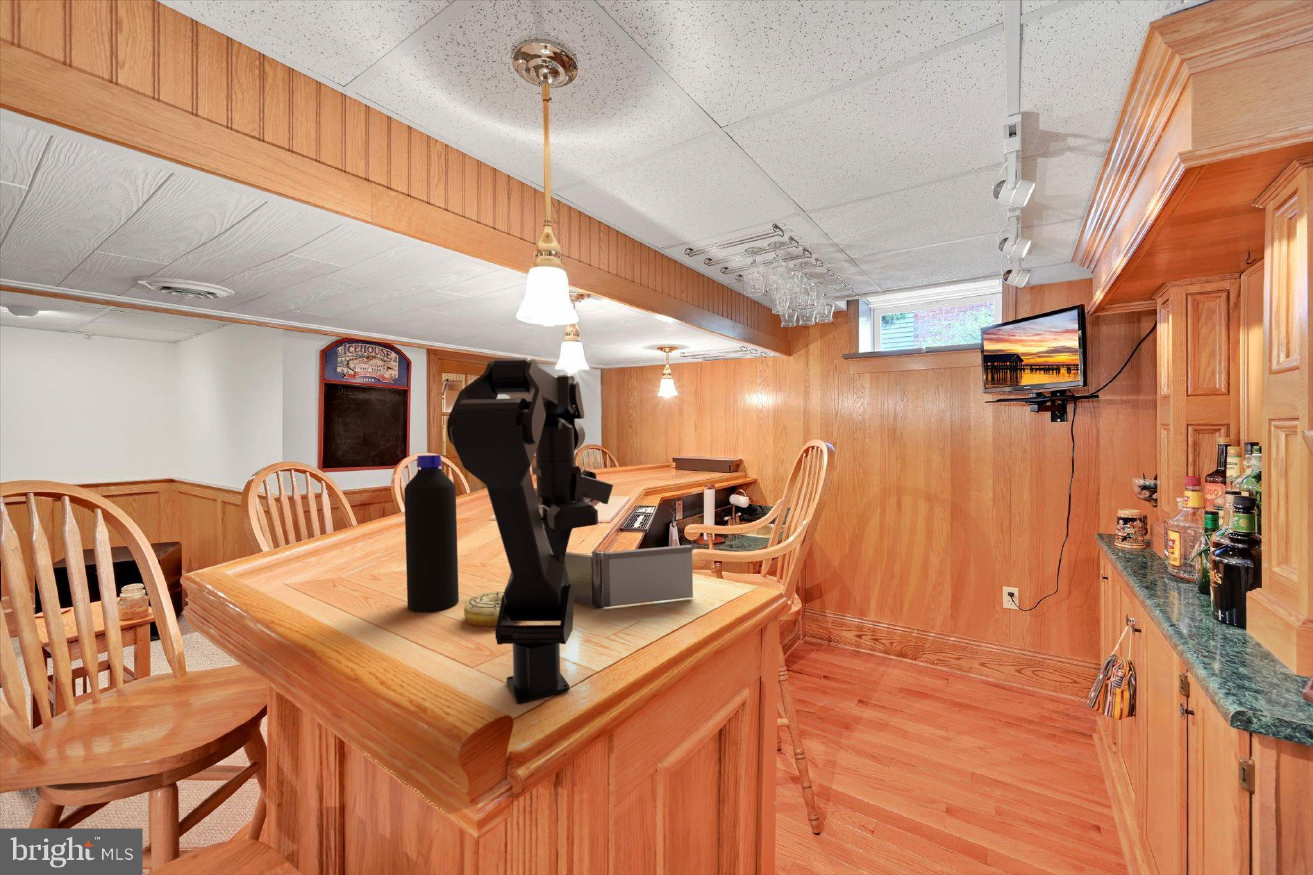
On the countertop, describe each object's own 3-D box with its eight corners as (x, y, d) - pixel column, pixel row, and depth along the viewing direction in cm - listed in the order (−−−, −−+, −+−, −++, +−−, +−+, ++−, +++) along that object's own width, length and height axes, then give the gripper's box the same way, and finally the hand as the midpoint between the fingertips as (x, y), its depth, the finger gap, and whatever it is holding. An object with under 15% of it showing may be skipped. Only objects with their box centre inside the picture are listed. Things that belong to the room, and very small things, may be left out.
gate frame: (542, 597, 100) (541, 545, 100) (550, 594, 102) (549, 543, 102) (599, 609, 93) (598, 553, 93) (606, 605, 95) (605, 551, 94)
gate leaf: (604, 607, 92) (603, 554, 92) (602, 604, 94) (601, 552, 94) (693, 597, 97) (692, 546, 97) (690, 595, 98) (689, 544, 98)
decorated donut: (527, 627, 86) (526, 604, 86) (458, 632, 84) (458, 609, 84) (531, 605, 96) (530, 585, 96) (470, 610, 94) (469, 589, 94)
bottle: (447, 612, 93) (442, 456, 93) (398, 613, 93) (393, 457, 93) (465, 596, 102) (462, 453, 101) (421, 597, 102) (417, 454, 101)
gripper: (631, 461, 73) (634, 570, 74) (584, 450, 89) (588, 539, 90) (553, 468, 68) (558, 585, 69) (519, 455, 84) (523, 550, 85)
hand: (559, 562), depth 79 cm, fingers closed
